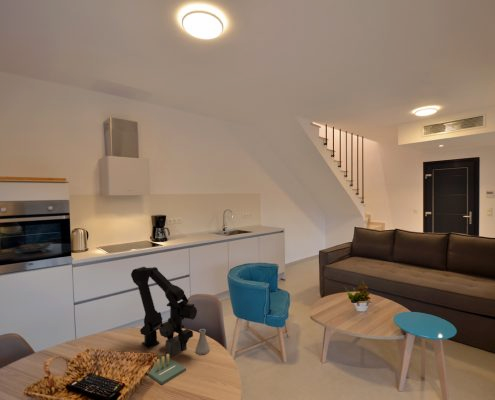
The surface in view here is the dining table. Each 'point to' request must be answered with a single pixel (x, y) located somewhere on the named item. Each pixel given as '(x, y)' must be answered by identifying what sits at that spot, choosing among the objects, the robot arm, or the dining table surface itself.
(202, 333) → the grey flared piece
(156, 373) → the header board
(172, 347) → the block
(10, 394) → the dining table surface
